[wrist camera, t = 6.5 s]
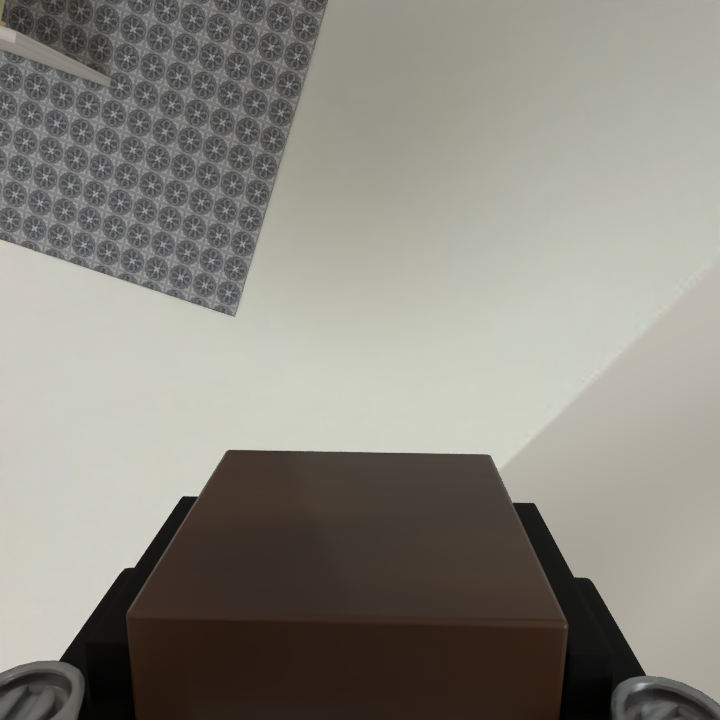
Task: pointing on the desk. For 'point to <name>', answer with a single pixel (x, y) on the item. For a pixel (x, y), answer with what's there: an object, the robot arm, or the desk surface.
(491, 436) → the desk surface
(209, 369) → the desk surface
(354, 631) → the block
